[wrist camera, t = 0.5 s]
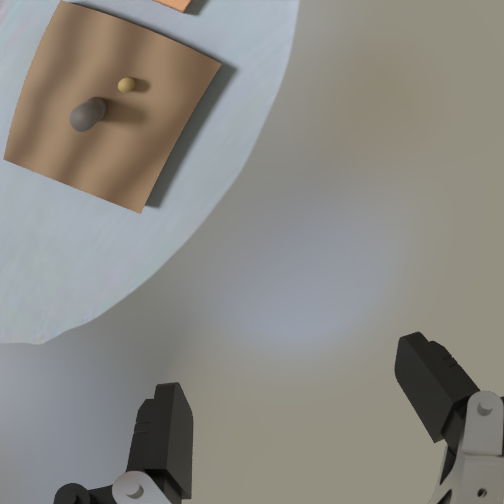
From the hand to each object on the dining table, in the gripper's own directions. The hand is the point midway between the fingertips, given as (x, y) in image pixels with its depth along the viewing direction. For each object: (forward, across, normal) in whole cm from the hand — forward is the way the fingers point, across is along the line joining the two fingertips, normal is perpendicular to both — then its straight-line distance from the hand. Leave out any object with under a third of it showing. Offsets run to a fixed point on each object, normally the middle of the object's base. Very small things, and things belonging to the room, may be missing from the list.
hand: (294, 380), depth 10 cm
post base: (+24, +13, -14) cm, 31 cm away
